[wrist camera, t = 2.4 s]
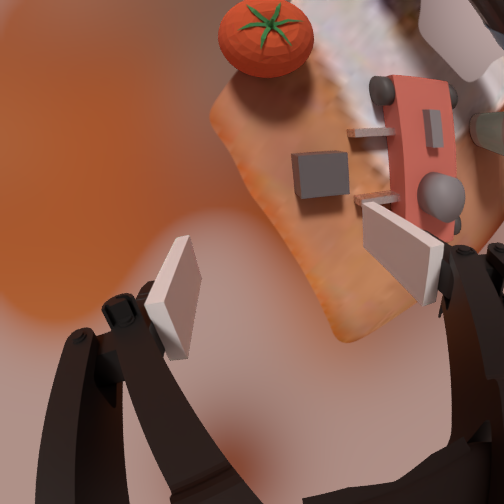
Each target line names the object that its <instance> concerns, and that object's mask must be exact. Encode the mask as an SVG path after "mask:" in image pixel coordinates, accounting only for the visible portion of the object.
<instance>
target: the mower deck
mask: <svg viewBox="0 0 504 504" xmlns="http://www.w3.org/2000/svg"><path fill="white" fill-rule="evenodd" d="M369 91H370V96H371V98H372V101H373V102H374V103H375V104H376V105H378V106H383V112H384V120H385V127H387V128H395V133H396V135H388V136H387V145H388V156H389V169H390V187H391V191H393V192H396V193H398V194H400V201H399V202H392V203H391V212H393V213H395V214H397V215H398V216H400V217H402V218H403V219H405V220H407V221H409V222H410V223H412V224H414V225H415V226H417V227H418V228H420V229H423V230H426V231H428V232H430V233H432V234H433V235H434V236H436V237H438V238H439V239H441V240H443V241H444V242H448V241H452V240H453V236H454V235H457V234H458V233H459V232H460V230H461V219H460V217H459V215H460V214H461V212H462V210H463V207H464V204H465V190H464V187H463V185H462V183H461V182H460V181H459V180H458V179H457V178H456V147H455V133H454V122H453V113H452V109H454V108H455V107H456V105H457V102H458V96H457V92H456V90H455V88H454V87H453V86H452V85H450V84H448V82H447V81H441V80H434V79H428V78H420V77H412V76H402V75H390V76H386V77H382V76H374V77H372V78H371V80H370V84H369Z"/></svg>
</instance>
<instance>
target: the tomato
mask: <svg viewBox="0 0 504 504" xmlns="http://www.w3.org/2000/svg"><path fill="white" fill-rule="evenodd" d="M218 41H219V45H220V49H221V51H222V53H223V55H224V56H225V58H226V59H227V60H228V61H229V63H230V64H232V65H233V66H234V67H235V68H236V69H238V70H240V71H242V72H243V73H246V74H249V75H252V76H256V77H261V78H273V77H279V76H283V75H286V74H289V73H291V72H292V71H294V70H296V69H298V68H299V67H300V66H301V65H302V64H304V62H305V61H306V60H307V58H308V57H309V55H310V53H311V51H312V48H313V43H314V34H313V29H312V26H311V23H310V21H309V20H308V18H307V16H306V15H305V14H304V13H303V12H302V11H301V10H300V9H299V8H297V7H296V6H295V5H293V4H291V3H289V2H287V1H285V0H244V1H242V2H240V3H238V4H237V5H235V6H234V7H233V8H231V9H230V10H229V12H227V14H226V15H225V16H224V18H223V20H222V21H221V24H220V28H219V32H218Z"/></svg>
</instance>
